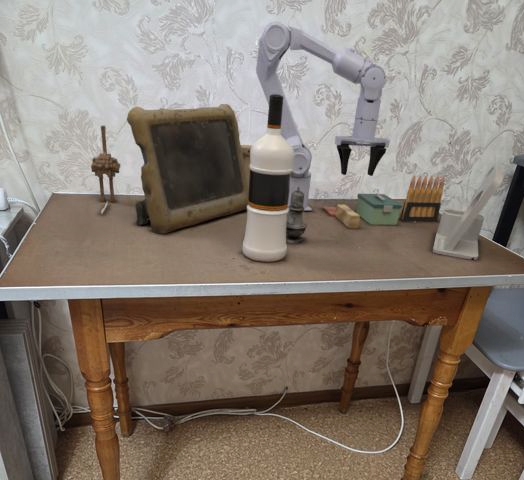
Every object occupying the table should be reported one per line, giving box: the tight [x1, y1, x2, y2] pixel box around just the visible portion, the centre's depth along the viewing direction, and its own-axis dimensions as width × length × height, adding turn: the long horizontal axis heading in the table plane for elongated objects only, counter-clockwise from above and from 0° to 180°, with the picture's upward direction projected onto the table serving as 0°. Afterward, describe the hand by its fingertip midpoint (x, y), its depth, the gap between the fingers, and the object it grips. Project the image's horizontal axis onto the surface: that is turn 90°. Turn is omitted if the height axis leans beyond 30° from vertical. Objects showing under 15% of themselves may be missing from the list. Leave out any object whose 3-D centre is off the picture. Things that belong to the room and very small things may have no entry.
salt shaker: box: [286, 186, 308, 245], centre depth 108 cm, size 6×6×12 cm
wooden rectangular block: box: [322, 203, 361, 229], centre depth 130 cm, size 18×5×3 cm, turn 12°
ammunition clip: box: [399, 174, 446, 222], centre depth 131 cm, size 11×2×12 cm, turn 104°
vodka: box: [241, 94, 294, 263], centre depth 94 cm, size 9×9×30 cm
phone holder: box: [432, 165, 504, 261], centre depth 112 cm, size 17×10×18 cm, turn 159°
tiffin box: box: [355, 192, 403, 226], centre depth 131 cm, size 8×12×6 cm, turn 12°
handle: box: [240, 144, 252, 190], centre depth 132 cm, size 5×6×15 cm
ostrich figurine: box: [90, 124, 121, 214], centre depth 119 cm, size 17×7×18 cm, turn 7°
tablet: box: [126, 103, 249, 235], centre depth 115 cm, size 33×14×25 cm, turn 148°
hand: (356, 174), depth 130 cm, fingers open, 7 cm apart
